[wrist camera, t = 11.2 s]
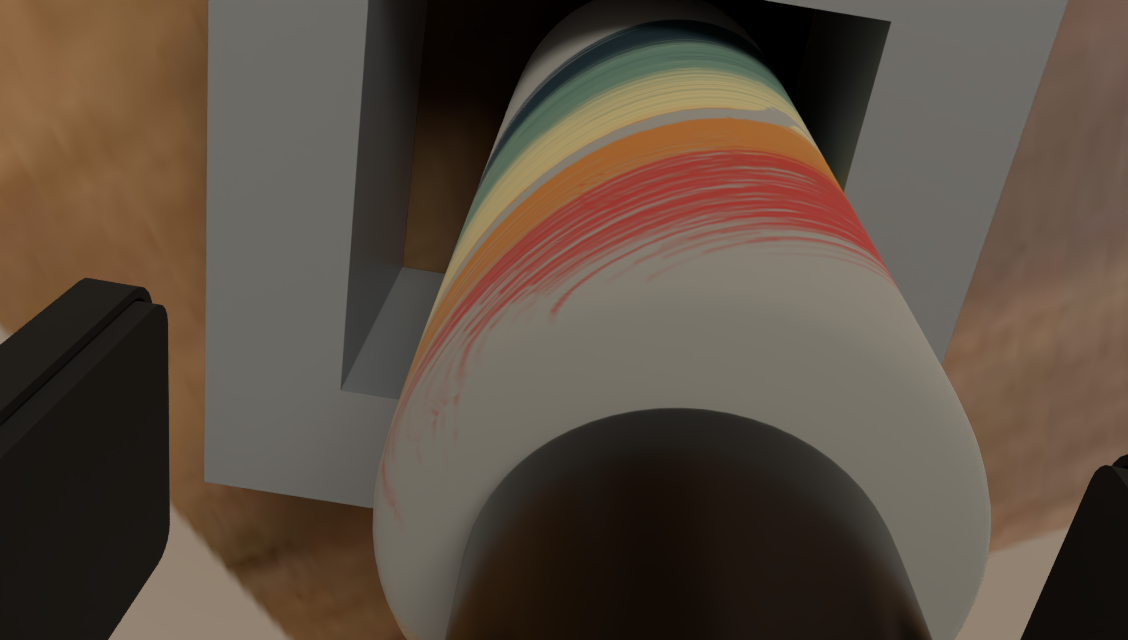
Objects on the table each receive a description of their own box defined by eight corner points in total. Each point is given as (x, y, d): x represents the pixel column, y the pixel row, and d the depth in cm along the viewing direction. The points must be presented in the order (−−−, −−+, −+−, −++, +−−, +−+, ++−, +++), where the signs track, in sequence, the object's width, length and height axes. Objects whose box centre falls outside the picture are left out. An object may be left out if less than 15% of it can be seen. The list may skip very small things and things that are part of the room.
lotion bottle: (810, 187, 24) (1411, 1406, 6) (574, 274, 25) (450, 1506, 7) (725, -63, 21) (1259, 629, 3) (471, 46, 23) (-108, 980, 5)
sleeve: (984, -140, 21) (1112, -127, 15) (815, 427, 26) (864, 586, 21) (321, -254, 20) (210, -280, 15) (292, 344, 26) (203, 481, 21)
